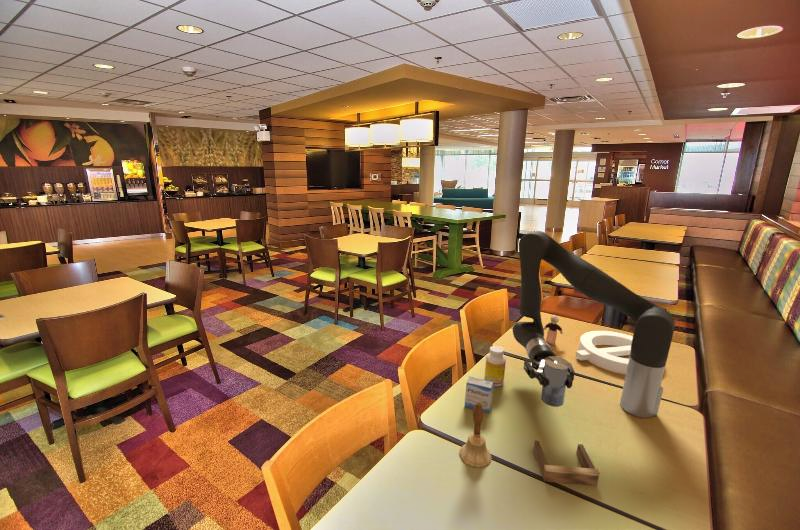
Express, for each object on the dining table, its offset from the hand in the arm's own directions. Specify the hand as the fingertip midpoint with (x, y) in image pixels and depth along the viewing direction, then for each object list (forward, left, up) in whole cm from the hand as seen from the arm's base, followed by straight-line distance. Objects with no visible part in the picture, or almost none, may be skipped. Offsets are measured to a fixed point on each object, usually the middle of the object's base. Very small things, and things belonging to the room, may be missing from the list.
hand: (557, 384), depth 103 cm
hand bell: (+22, +10, -16) cm, 29 cm away
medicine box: (+19, -11, -16) cm, 27 cm away
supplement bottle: (+12, -25, -16) cm, 32 cm away
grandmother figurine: (-17, -57, -16) cm, 61 cm away
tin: (0, -2, -7) cm, 7 cm away
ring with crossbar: (-40, -48, -17) cm, 65 cm away
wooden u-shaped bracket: (0, +11, -16) cm, 20 cm away
